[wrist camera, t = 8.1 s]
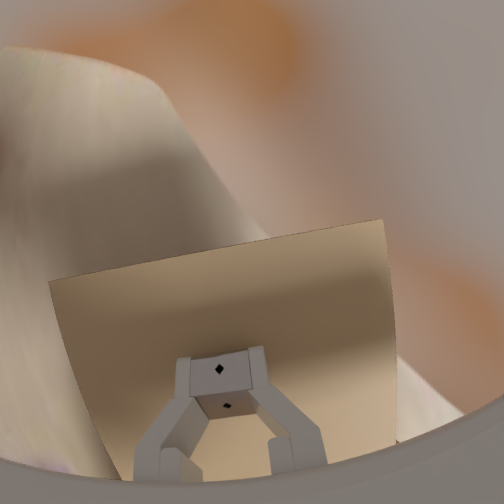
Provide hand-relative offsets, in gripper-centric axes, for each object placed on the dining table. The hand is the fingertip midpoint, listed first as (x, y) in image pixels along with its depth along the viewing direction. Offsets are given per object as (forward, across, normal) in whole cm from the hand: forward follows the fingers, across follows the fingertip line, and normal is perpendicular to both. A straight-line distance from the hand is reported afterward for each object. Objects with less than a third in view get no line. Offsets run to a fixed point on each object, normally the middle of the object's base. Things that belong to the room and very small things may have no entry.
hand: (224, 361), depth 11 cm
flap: (-3, 0, +7) cm, 8 cm away
